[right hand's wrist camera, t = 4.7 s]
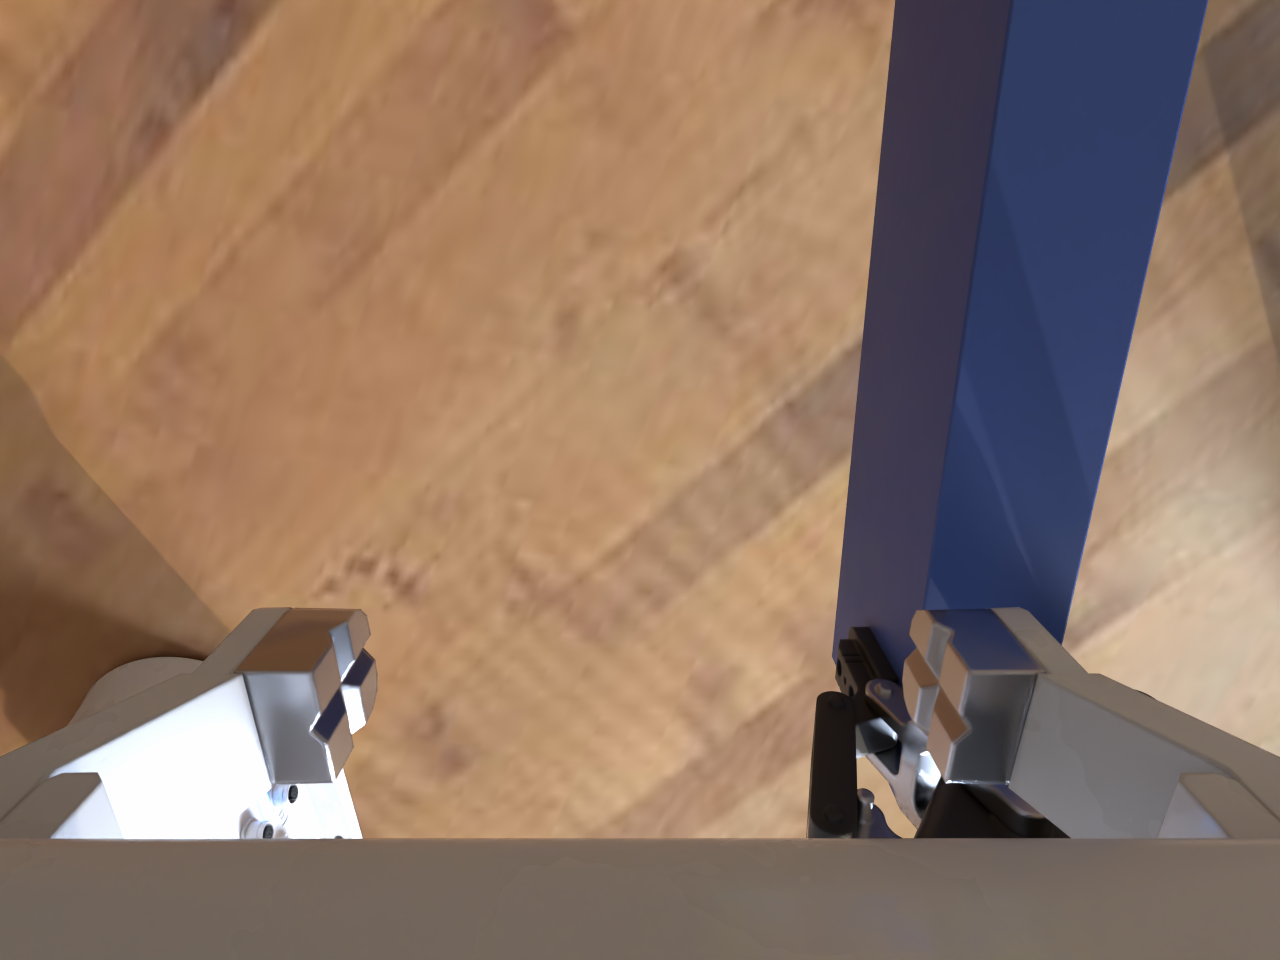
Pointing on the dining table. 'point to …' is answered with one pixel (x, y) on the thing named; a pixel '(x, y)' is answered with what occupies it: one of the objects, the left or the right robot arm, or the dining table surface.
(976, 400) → the bar
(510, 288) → the dining table surface
